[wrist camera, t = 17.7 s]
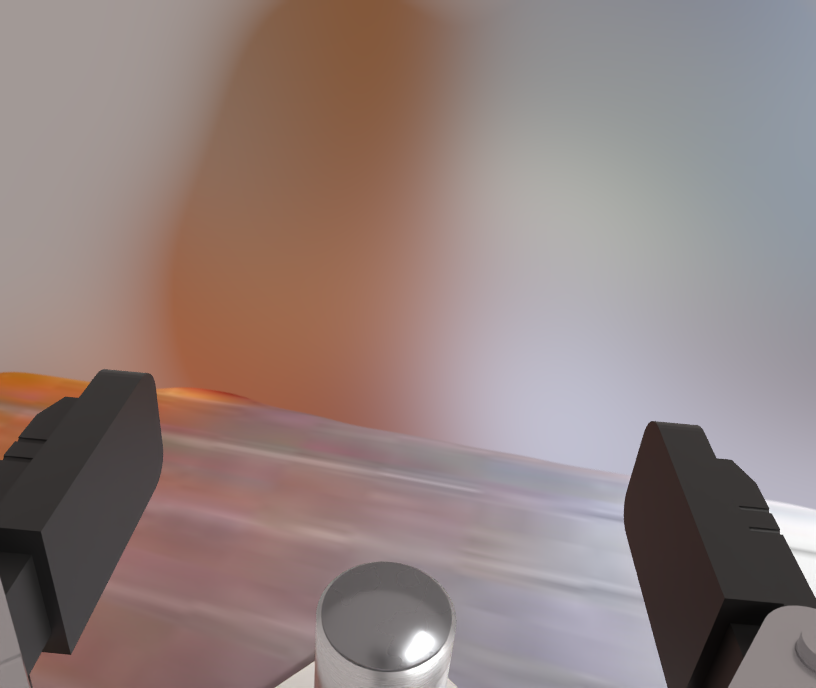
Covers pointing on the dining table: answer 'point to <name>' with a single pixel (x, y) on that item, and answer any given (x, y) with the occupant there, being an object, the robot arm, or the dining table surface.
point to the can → (383, 629)
